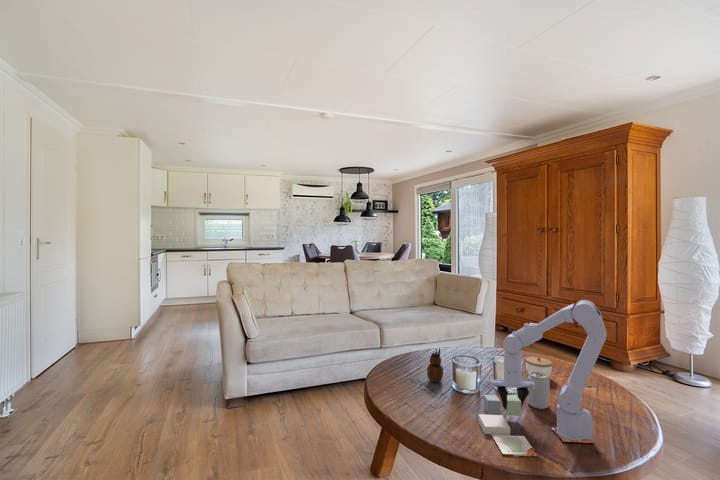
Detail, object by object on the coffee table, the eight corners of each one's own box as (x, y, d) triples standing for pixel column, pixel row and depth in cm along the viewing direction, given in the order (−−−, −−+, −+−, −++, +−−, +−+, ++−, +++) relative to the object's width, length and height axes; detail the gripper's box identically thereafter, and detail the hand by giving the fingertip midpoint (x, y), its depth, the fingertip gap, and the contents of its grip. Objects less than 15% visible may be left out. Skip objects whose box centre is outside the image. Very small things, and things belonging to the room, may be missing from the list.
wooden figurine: (444, 381, 158) (445, 347, 158) (440, 385, 153) (440, 350, 153) (430, 377, 162) (430, 344, 162) (425, 381, 157) (425, 347, 157)
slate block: (496, 408, 134) (496, 395, 134) (500, 414, 129) (500, 400, 129) (483, 408, 134) (484, 394, 134) (487, 414, 130) (487, 400, 130)
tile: (524, 437, 114) (524, 435, 114) (537, 457, 104) (537, 454, 104) (492, 436, 115) (492, 433, 115) (502, 455, 105) (502, 452, 105)
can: (551, 405, 137) (552, 374, 136) (545, 412, 131) (546, 379, 131) (530, 399, 142) (531, 368, 142) (524, 405, 136) (524, 374, 136)
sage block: (516, 409, 127) (516, 395, 127) (521, 415, 123) (521, 401, 123) (503, 408, 128) (503, 394, 128) (507, 415, 123) (507, 400, 123)
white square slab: (501, 423, 124) (502, 415, 124) (510, 436, 116) (510, 427, 116) (478, 422, 124) (478, 414, 124) (484, 435, 116) (484, 426, 116)
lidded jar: (524, 378, 162) (524, 358, 162) (527, 371, 171) (527, 351, 171) (550, 384, 156) (551, 362, 156) (552, 376, 165) (553, 355, 165)
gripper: (529, 365, 129) (528, 403, 129) (488, 364, 130) (487, 402, 130) (537, 373, 122) (537, 413, 122) (494, 372, 122) (493, 411, 123)
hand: (512, 408), depth 125 cm, fingers closed on sage block, 4 cm apart
